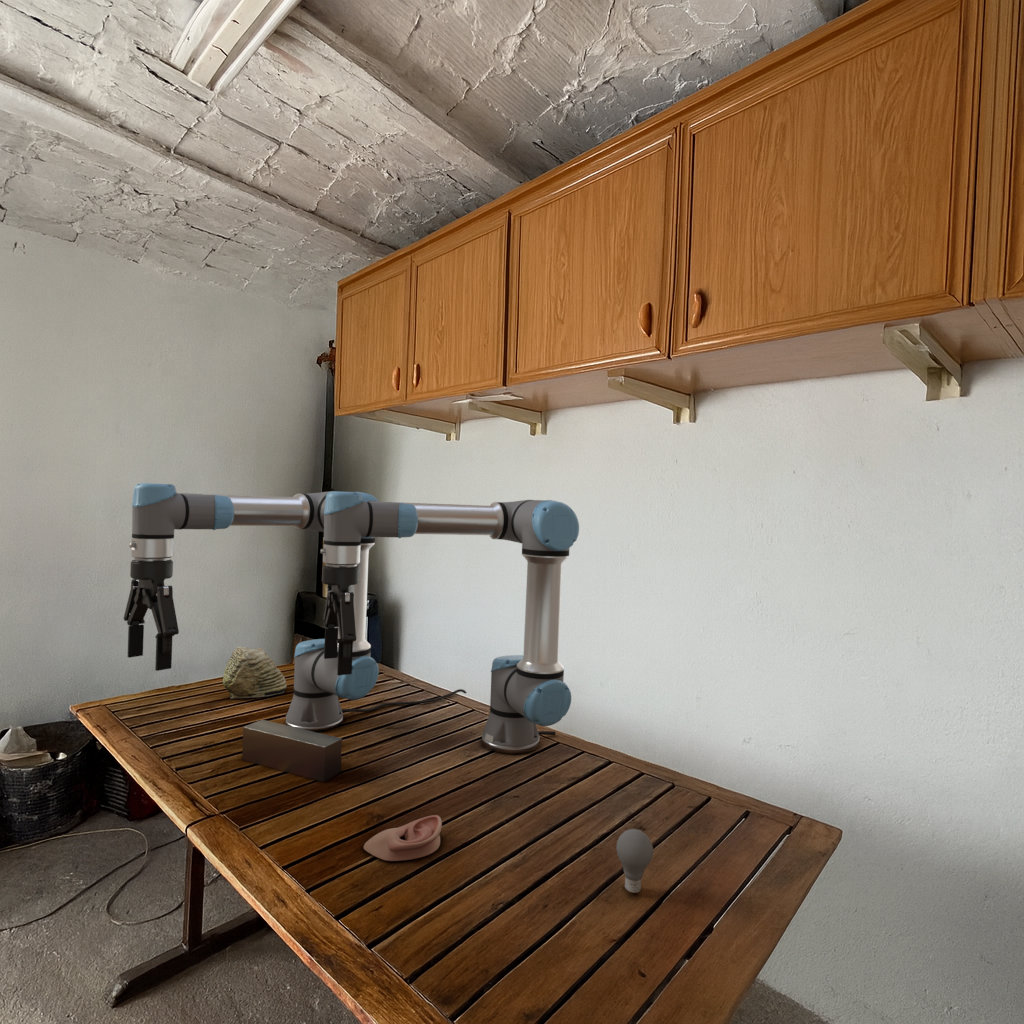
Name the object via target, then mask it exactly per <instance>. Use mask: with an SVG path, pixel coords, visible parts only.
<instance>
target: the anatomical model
mask: <svg viewBox="0 0 1024 1024" xmlns="http://www.w3.org/2000/svg"><path fill="white" fill-rule="evenodd" d="M442 826H443V822H442V818H441V816H440V815H437V814H433V815H428V816H424V817H421V818H417V819H414V820H412V821H410V822H408V823H406V824H404V825H401V826H398V827H392V828H388V829H384V830H382V831H380V832H378V833H377V834H375V835H373V836H372V837H370V838H369V839H368V840H367V841H366V842H365V843H364V845H363V850H364V851H365V852H367V853H368V854H370V855H371V856H373V857H375V858H377V859H380V860H382V861H385V862H386V861H387V862H400V861H408V860H409V861H410V860H414V859H415V860H416V859H420V858H423V857H426V856H429V855H431V854H433V853H435V852H436V851H437V850H438V849H439V847H440V845H441V835H440V834H441V831H442Z"/></svg>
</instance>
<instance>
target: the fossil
mask: <svg viewBox="0 0 1024 1024" xmlns="http://www.w3.org/2000/svg"><path fill="white" fill-rule="evenodd" d="M222 676H223V677H222V685H223V687H224V688H225V690H226V691H228V693H229V698H230V699H250V698H264V697H271V696H275V695H281V694H284V693H285V691H286V689H287V687H288V686H287V680H286V678H285V676H284V674H283V673H282V672H281V669H279V668H278V667H277V665H276V663H275V662H274V660H273V659H272V658H271V657H270V656H269V655H268V654H267V653H266V652H265V650H264V649H263V648H260V647H258V648H251V647H247V646H246V647H245V646H238V647H237V648H236V649H235V650H233V651H232V653H231V656H230V657H229V659H228V660H227V663H226V666H225V668H224V671H223V675H222Z"/></svg>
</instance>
